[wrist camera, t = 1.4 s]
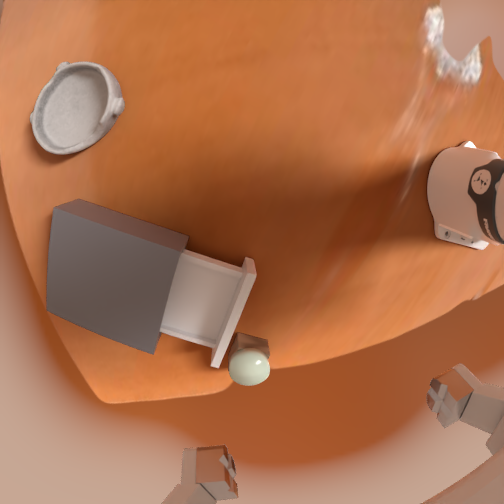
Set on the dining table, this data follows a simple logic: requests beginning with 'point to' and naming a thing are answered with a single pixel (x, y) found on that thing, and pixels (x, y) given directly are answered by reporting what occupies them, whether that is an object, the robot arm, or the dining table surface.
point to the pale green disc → (249, 366)
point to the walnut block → (248, 344)
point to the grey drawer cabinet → (111, 272)
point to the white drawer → (207, 301)
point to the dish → (76, 107)
